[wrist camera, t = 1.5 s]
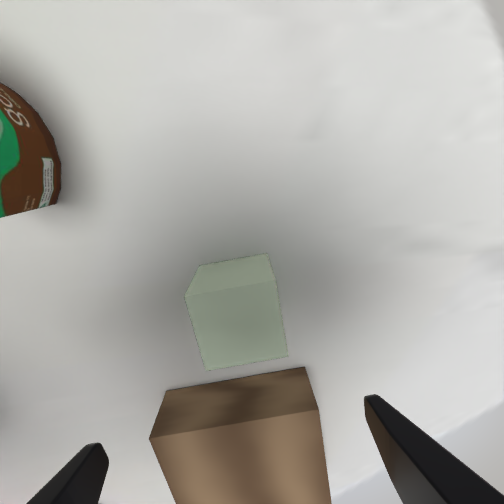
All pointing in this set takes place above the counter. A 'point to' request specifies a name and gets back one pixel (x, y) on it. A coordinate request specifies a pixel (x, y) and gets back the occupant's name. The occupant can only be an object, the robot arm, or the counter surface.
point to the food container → (25, 157)
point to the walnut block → (243, 442)
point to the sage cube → (236, 312)
